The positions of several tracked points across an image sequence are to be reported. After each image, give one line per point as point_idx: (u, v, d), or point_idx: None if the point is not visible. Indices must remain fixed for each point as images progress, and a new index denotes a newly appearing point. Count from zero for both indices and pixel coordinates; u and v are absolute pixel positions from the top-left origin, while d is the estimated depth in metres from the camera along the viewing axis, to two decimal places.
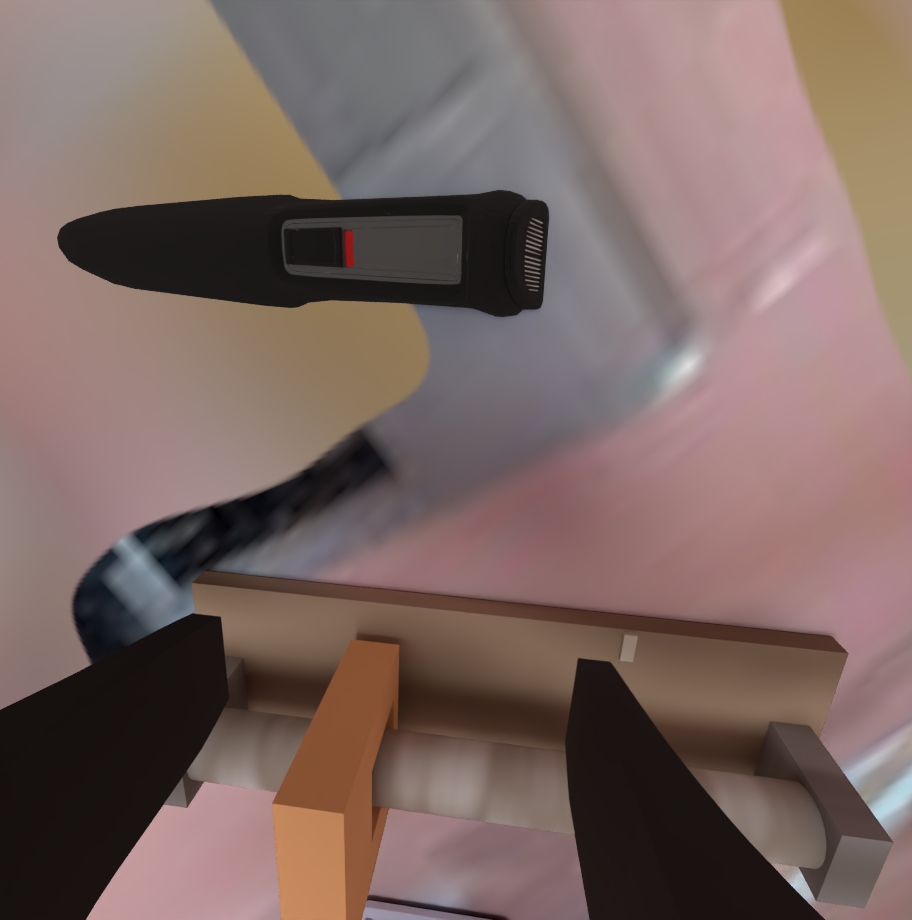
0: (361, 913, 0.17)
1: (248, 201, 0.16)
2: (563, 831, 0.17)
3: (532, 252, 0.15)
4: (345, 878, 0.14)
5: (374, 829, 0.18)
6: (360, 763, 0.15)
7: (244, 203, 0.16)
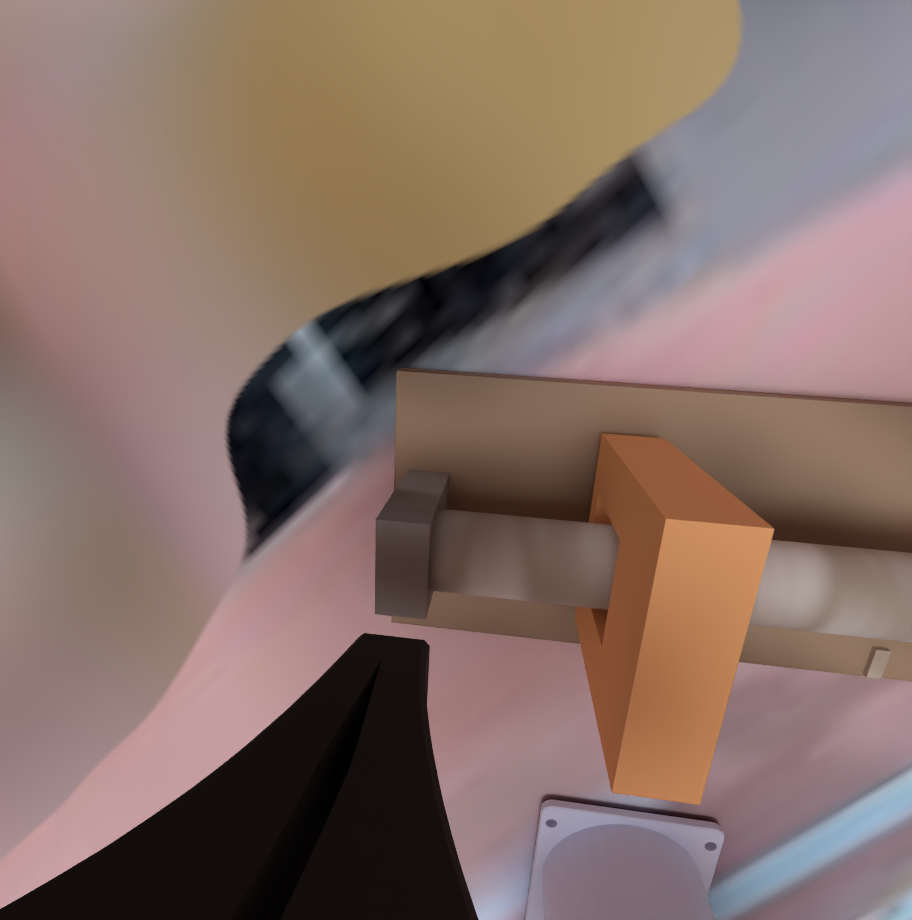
0: None
1: None
2: None
3: None
4: (743, 641, 0.10)
5: None
6: (737, 500, 0.11)
7: None
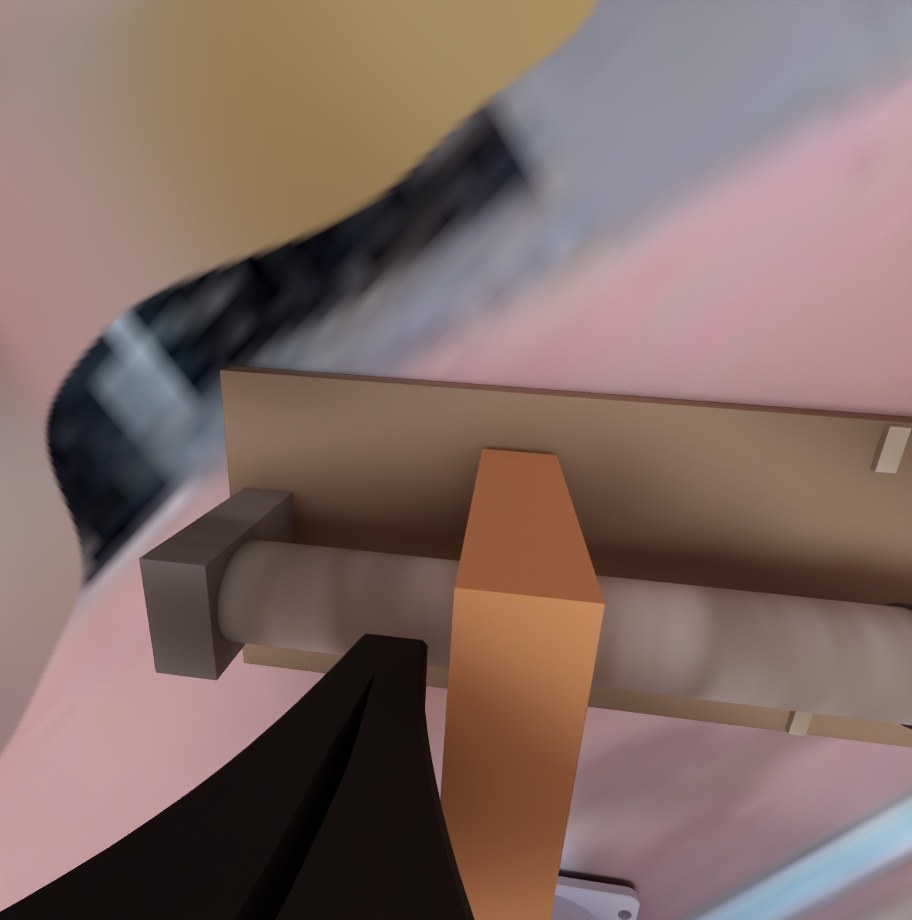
0: None
1: None
2: (838, 709, 0.10)
3: None
4: (579, 751, 0.07)
5: None
6: (586, 550, 0.08)
7: None
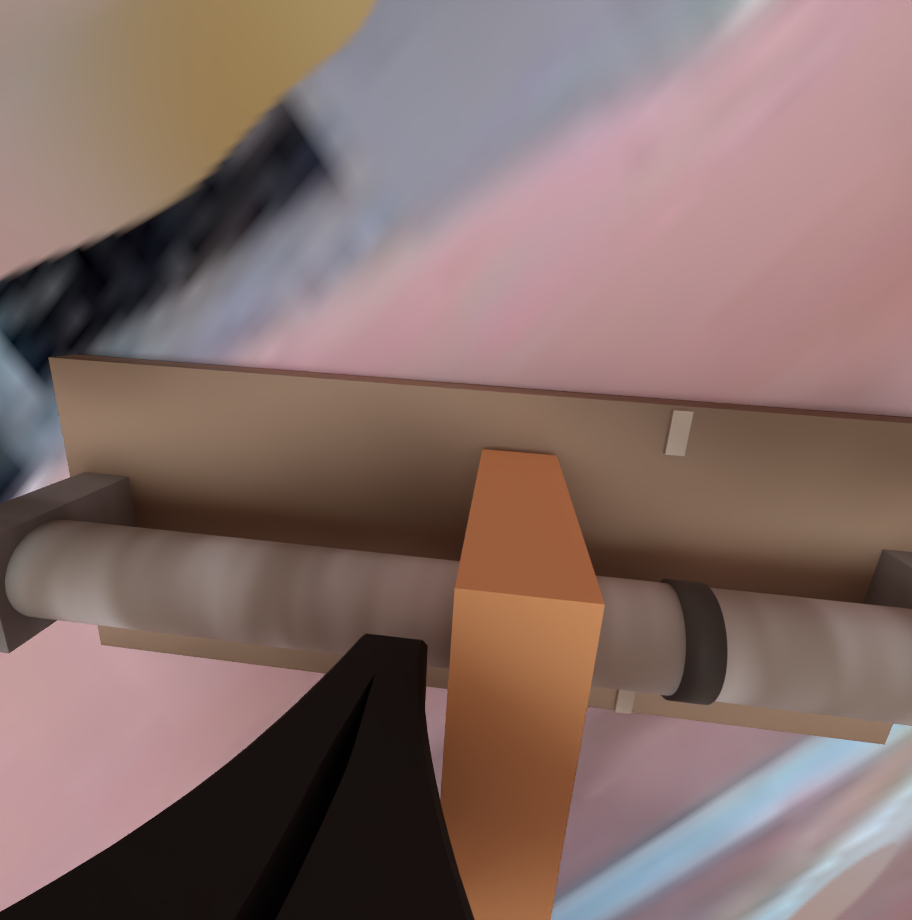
0: None
1: None
2: None
3: None
4: (578, 752, 0.07)
5: None
6: (586, 551, 0.08)
7: None
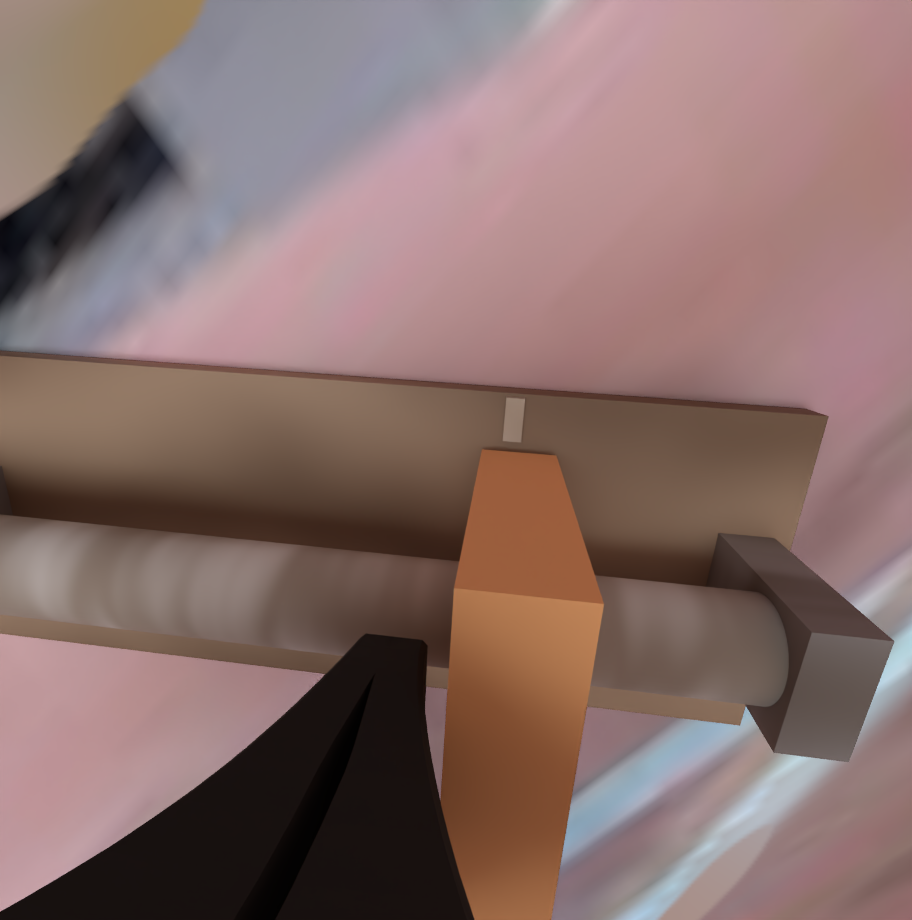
0: None
1: None
2: None
3: None
4: (578, 751, 0.07)
5: None
6: (585, 551, 0.08)
7: None
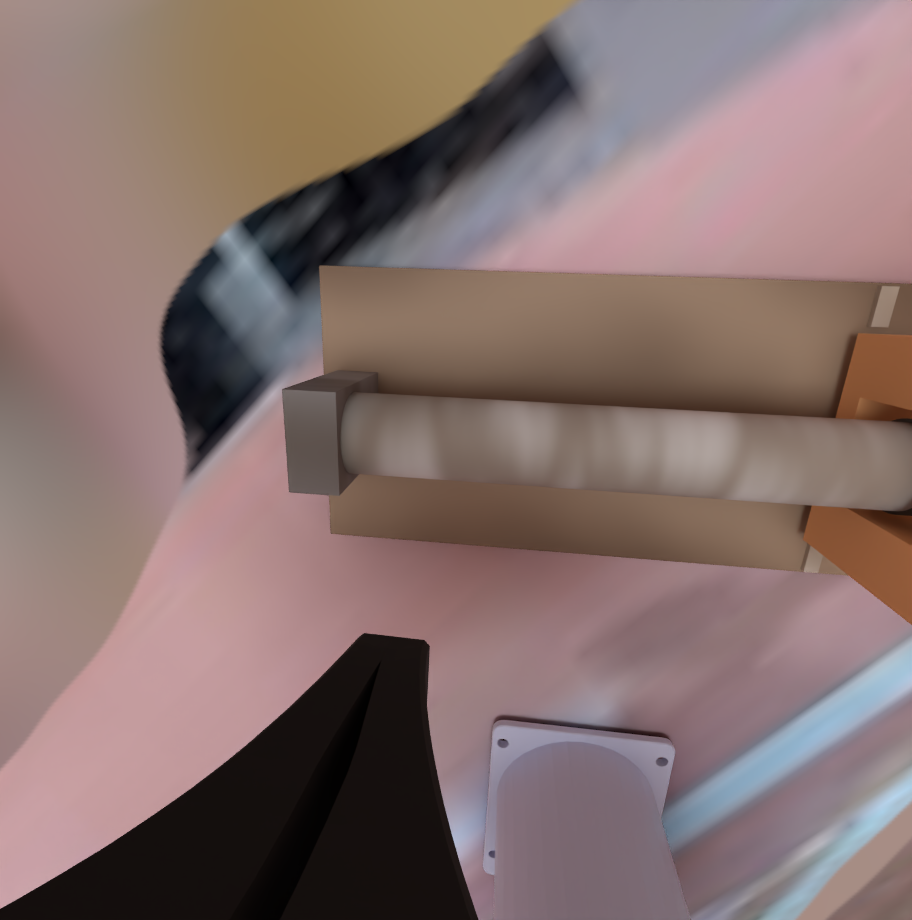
0: None
1: None
2: (844, 492, 0.13)
3: None
4: None
5: None
6: None
7: None
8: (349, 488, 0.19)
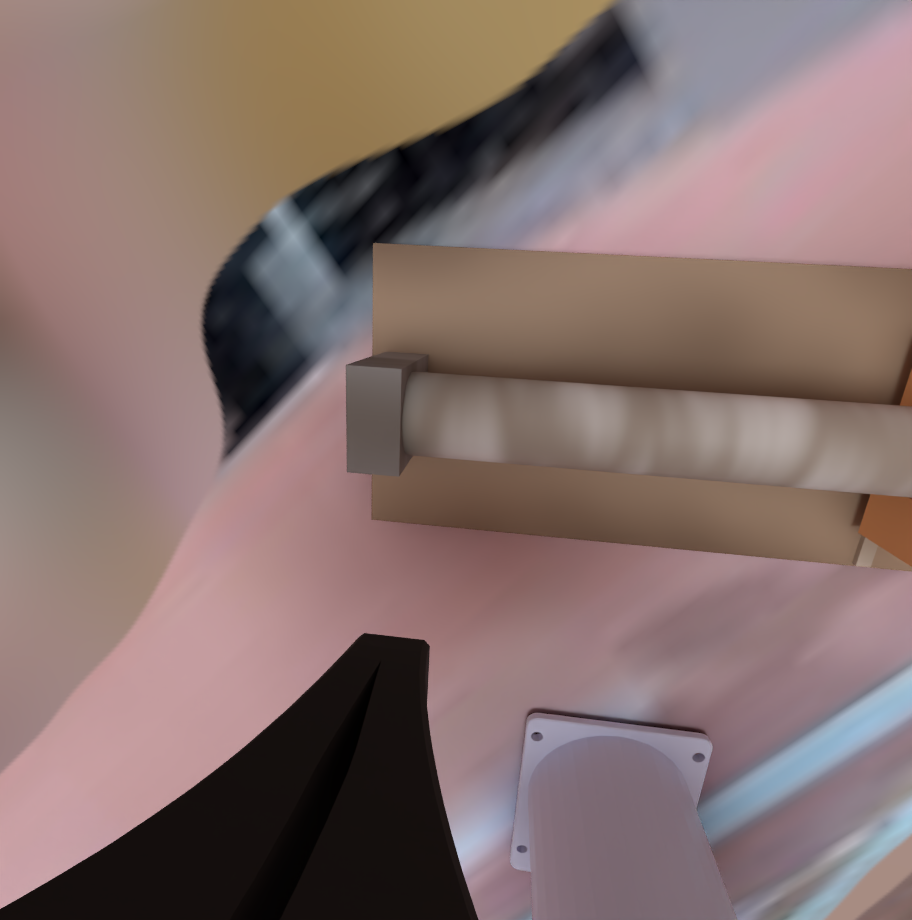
0: None
1: None
2: None
3: None
4: None
5: None
6: None
7: None
8: None
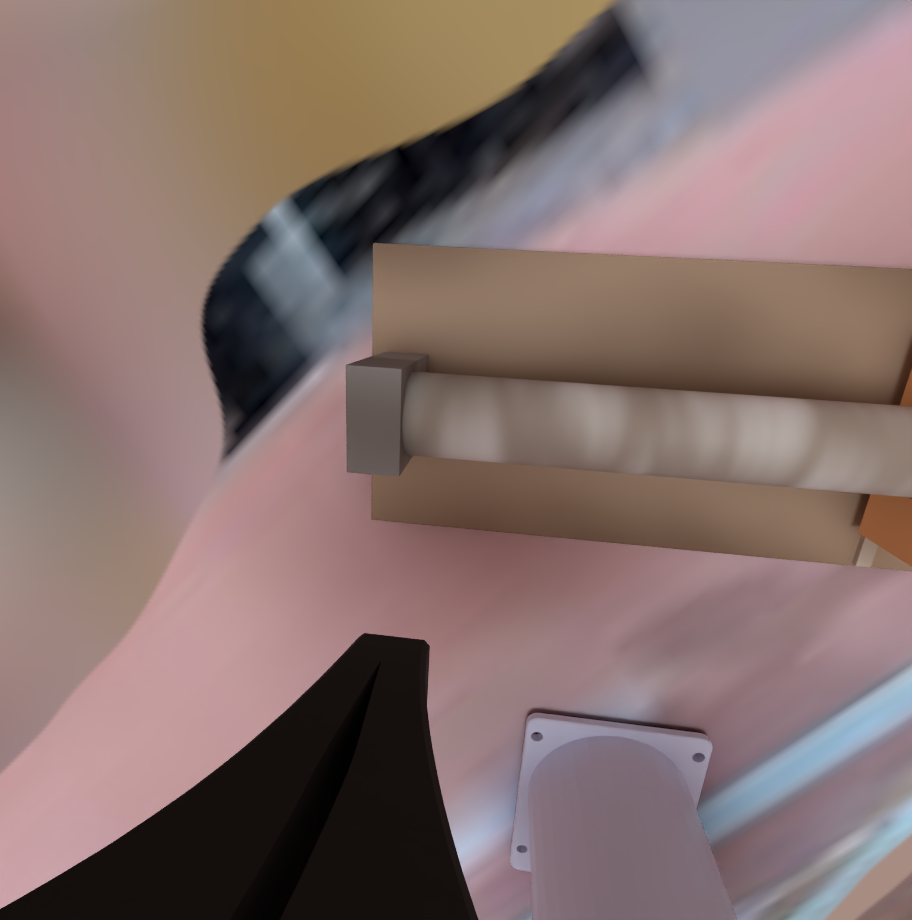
0: None
1: None
2: None
3: None
4: None
5: None
6: None
7: None
8: None
